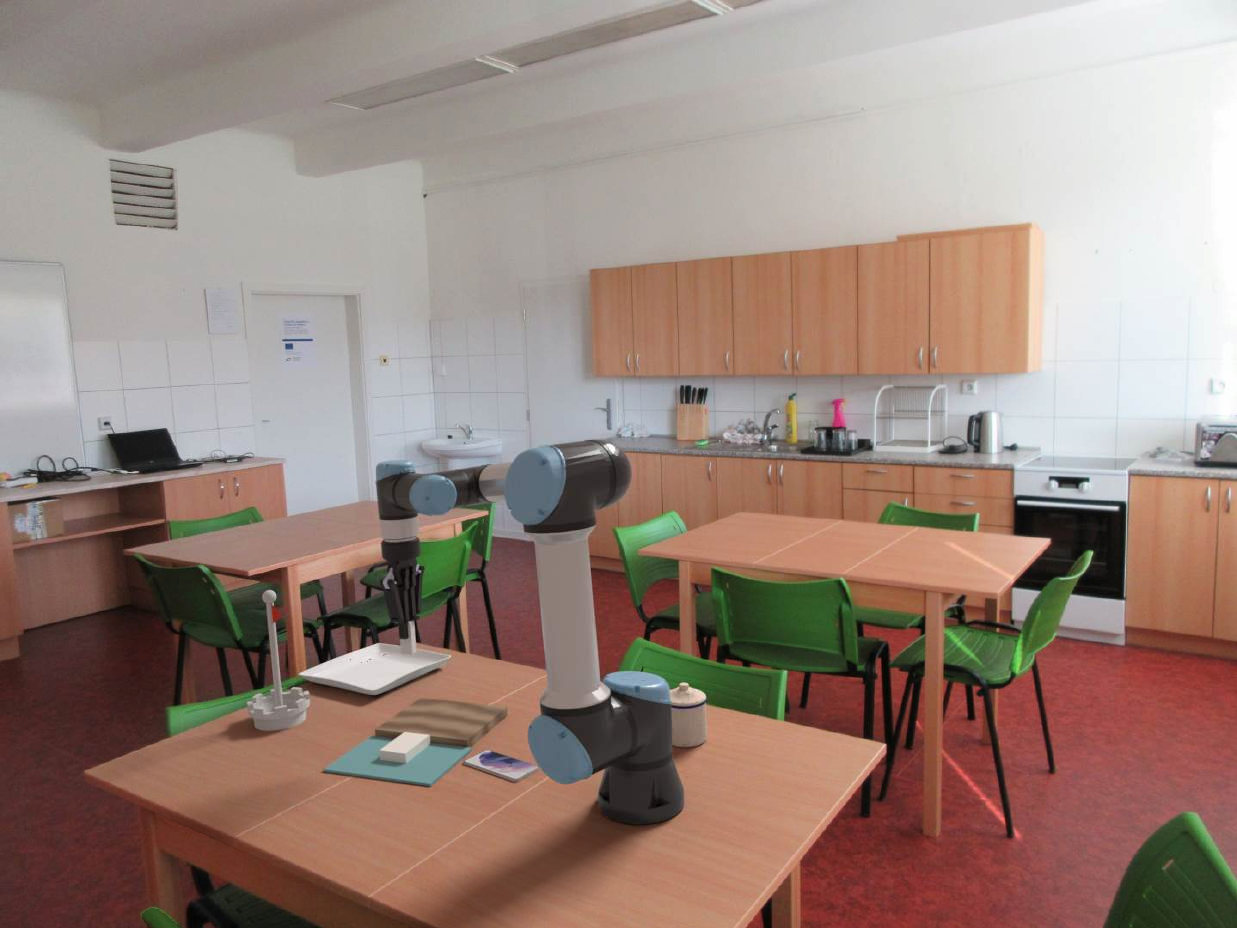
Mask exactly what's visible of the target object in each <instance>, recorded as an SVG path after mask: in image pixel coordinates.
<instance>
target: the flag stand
mask: <svg viewBox="0 0 1237 928" xmlns="http://www.w3.org/2000/svg"><path fill="white" fill-rule="evenodd" d="M261 598H262V601H263V602H264V603H265V605H266V617H267V626H268V638H269V646H270V647H269V649H270V657H271V658H270V659H271V669H272V678H273V679H272V680H273V681H272V682H273V689H270V690H269V692H270V694H269V695H266V696H264V695H263V693H257V694H255V695H253V696H251V701H247V702H246V705H247V706H246V707H247V708H246V709H247V714H248V716H249V717H250V718H251V719H253V725H254V728H255V729H256V730H259V731H264V732H273V731H274V732H275V731H282V730H287V729H290V728H293V727H296V726H298V725H300V724H302V723H303V722H304V721H305V720H306V719H307V709H308V708H309V706H310V705H311V700H310V691H309V690H304V691H303V687H295V686H293V687H292V688H290V691H287V692H285V691H283V688H282V682H281V679H282V678H281V671H280V659H279V647H278V638H277V637H278V636H277V627H276V626H277V625H276V622H277V621H278V620H279V619H281V618H283V616H282V615H281V613H280V612H279V611H278V610H277V608H276V607H275V606H274V605H275V604H274V602H276V599H277V594H276V592H275V591H274V590H272V589H268V590H265V591H264V592H263V594H262V597H261Z"/></svg>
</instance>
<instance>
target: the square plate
mask: <svg viewBox="0 0 1237 928" xmlns="http://www.w3.org/2000/svg"><path fill="white" fill-rule="evenodd" d="M384 654H386V655H384ZM383 655H384V656H383ZM451 658H452V655H451V654H447V653H446V654H444V653H440V652H435V651H431V650H428V649H427V650H426V649H421V648H416V653H414V654H402V653H401V648H400V645H396V644H390V643H389V644H388V643H382V642H377V643H375V644H372V645H369V646H366V647H363V648H361V649H358V650H355V651H352V652H349V653H346V654H343V655H340V656H338V657H335V658H333V659H330V660H326V661H325V662H323V663H320V664H318V665H315V666H312V667H310V668H308V669H306V670H303V671H302V672H299V673H298V676H301V677H302V678H303V679H304V680H307V681H309V682H311V683H315V684H319V685H325V686H329V687H333V688H339V689H343V690H346V691H347V690H348V691H352V692H355V693H360V694H365V695H369V696H370V695H371V696H377V695H379V694H384V693H386V692H389V691H392V690H394V689H395V688H397V687H400V686H403V685H404V684H406V683H408V682H411V681H412V680H413V681H414V680H416V679H417V678H420V677H422V676H424V675H426V674H428V673H429V672H432V671H434V670H436V669H439V668H441V667H442V666H445V665H446V664H447V662H448V661H449V660H450V659H451ZM350 659H351V660H350ZM369 659H371V660H369ZM367 661H368V662H367ZM361 662H362V663H361Z"/></svg>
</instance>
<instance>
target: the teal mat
mask: <svg viewBox="0 0 1237 928" xmlns="http://www.w3.org/2000/svg"><path fill="white" fill-rule="evenodd" d="M394 739H395V738H387V737H378V736H375V735H370V736H368V738H366V739H365V740H363V741H361V742H360V743H358V744H356V746H354V747H353V748H352V749H350V750H349V751H348V752H346V753H344V754H343V755H342V756H340V757H339V758H337V759H335V760H334V761H333V762H331V763H330V764H328V765H327V766H326V767H325V768H323V769H322V770H323V772H324V773H330V774H331V773H333V774H340V775H345V776H353V777H360V778H367V779H375V780H380V781H381V780H383V781H388V782H389V781H390V782H396V783H398V782H399V783H404V784H411V785H416V786H417V785H419V786H426V787H432V786H433V785H434V784H435V783H436V782H437V781H439V780H440V779H441V778H443V777H444V776H445V775H446V774H447V773H448V772H449V771H450V770H451V769H453V768H455V766H456V765H457V764H458V763H460V762H461V760H463V759H464V758H465V757H467V755H468V754H470V753H471V752H472V751H473V747H462V746H454V745H445V744H437V743H431V744H430V745H429V746H428V747H426V748H425V749H424V750H423V751H421V752H420V753H419V754H417V755H416V756H415V757H414V758H412V759H411V760H410V761H409V762H407V763H400V762H393V761H385V760H380V751H379V750H380V749H382V748H383V747H385V746H386V745H387V744H389V743H390V742H391V741H393V740H394Z"/></svg>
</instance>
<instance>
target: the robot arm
mask: <svg viewBox="0 0 1237 928" xmlns="http://www.w3.org/2000/svg"><path fill="white" fill-rule="evenodd" d="M632 471H633V470H632V465H631V461H630V459H629V458H628V456H627V454H626V453H625V451H624V450H623V449H622V448H621V447H620V446H619V445H617V444H616V443H613V442H611V441H608V440H605V439H593V438H592V439H586V440H582V441H573V442H565V443H564V442H563V443H558V444H557V443H555V444H545V445H540V446H537V447H533V448H529V449H526V450H524V451H522V452H520V453H519V454H518V455H516V457H515V458H514V459H513V461H509V462H508V461H507V462H501V463H500V462H499V463H493V464H492V463H487V464H481V465H478V466H470V467H465V468H464V467H463V468H459V469H456V468H455V469H451V470H443V471H438V472H431V473H430V472H429V473H417V472H416V469H415V464H414V463H413V461H412V460H409V459H395V460H394V459H393V460H386V461H382V462H378V464H377V465H376V467H375V481H374V483H375V487H376V499H377V508H378V509H377V510H378V518H379V532H380V538H381V539H382V541H381V542H380V549H381V557H382V559H383V560H385V561H386V562H387V564H386V565H387V567H386V574H387V575H386V577H385V578H380V580H379V585H380V586H381V587H380V588H381V589H382V590H383V595H384V598H385V602H386V607H387V611H388V615H389V620H390V622H391V623H396V624H397V627H398V638H399V642H400V644H399V646H400V648H401V653H402V654H414V653H416V649H417V642H416V641H417V639H416V625H415V623H416V622H415V621H418V620H420V618H421V617H420V616H419V615H420V614H421V612H422V596H423V595H422V594H423V581H424V580H423V577H424V575H425V574H424V573H425V570H426V568H425V565H420V564H418V560H417V558H418V557H420V555H421V554H422V553H421V541H420V538H419V537H418V536H419V534H420V525H419V516H418V515H419V514H421V515H423V516H424V515H425V516H428V517H432V516H443V515H445V514H447V513H449V512H450V511H451V510H454V509H460V508H464V507H470V506H477V505H484V504H495V503H502V502H503V503H504V502H505V503H506V507H507V509H508V510H510V515H511V516H512V517H513V519H514V520H515V521H517V522H518V523H521V524H522V526H523V528H522V529H523V533H524V535H526V536H527V537H528V538H530V540H531V541H533V543H534V551H535V563H536V574H537V584H538V596H539V605H540V616H541V617H540V618H541V627H542V628H541V630H542V638H543V649H544V660H545V661H544V662H545V672H546V681H547V682H546V683H547V687H546V688H545V689H544V690H543V692H541V694H540V696H539V708H540V715H538V716H536V717H534V719H533V720H532V721H531V722H530V725H528V730H527V742H528V745H529V750H530V752H531V754H532V757H533V759H534V761H535V763H536V765H537V766H539V767H540V770H541V771H542V772H543V774H545V776H547V777H548V778H549V779H551V780H552V781H553V782H555V783H557V784H561V785H571V784H575V783H577V782H580V781H584V780H588V779H589V778H591V776H593V775H596V774H598V773H599V772H601V771H603V774H602V777H601V779H600V784H599V786H598V787H599V788H598V791H597V793H598V794H597V804H598V809H599V811H600V812H601V813H602V814H603V815H604V816H605V817H607V818H608V819H611V820H612V821H616V822H619V823H623V824H629V825H651V824H656V823H661V822H663V821H667V820H670V819H671V818H673V817H676V815H678V814H679V813H681V811H682V810H683V808H684V807H685V789H684V784H683V783H682V780H681V777H680V774H679V772H678V769H677V767H676V764H675V761H674V758H673V757H674V756H673V753H674V752H673V745H672V711H671V704H672V701H671V698H670V690H671V688H670V686H669V685H670V683H668V682H667V680H666V679H665V678H663V677H661V676H659V675H658V674H654V673H650V672H646V671H645V672H644V671H639V670H638V671H637V670H636V671H635V670H634V671H633V670H627V671H626V670H624V671H623V670H622V671H614V672H611V673H608V674H606V675H605V676H604V677H603V678H602V681H601V673H600V661H599V650H598V649H599V648H598V640H597V637H598V636H597V629H596V627H597V626H596V618H595V617H596V616H595V606H594V604H595V603H594V593H593V582H592V573H591V559H590V549H589V536H590V534H592V532H593V531H594V529H595V528H597V521H596V518H597V517H596V511H598V510H602V509H606V508H608V507H611V506H612V505H615V504H616V503H618V502H619V501H620V500H621V499H622V498H623V497H625V495H626V493H627V492H628V490H629V488H630V485H631V482H632V475H633V472H632Z"/></svg>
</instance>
